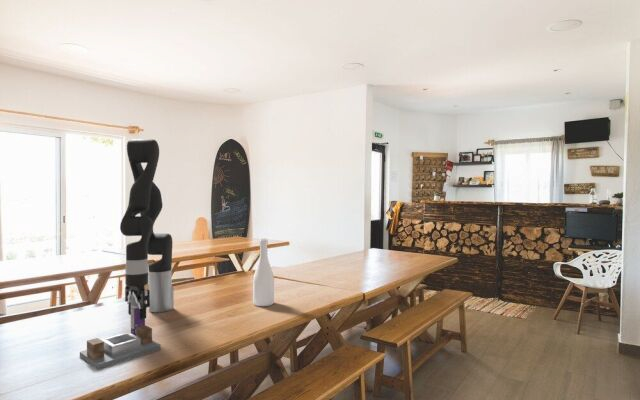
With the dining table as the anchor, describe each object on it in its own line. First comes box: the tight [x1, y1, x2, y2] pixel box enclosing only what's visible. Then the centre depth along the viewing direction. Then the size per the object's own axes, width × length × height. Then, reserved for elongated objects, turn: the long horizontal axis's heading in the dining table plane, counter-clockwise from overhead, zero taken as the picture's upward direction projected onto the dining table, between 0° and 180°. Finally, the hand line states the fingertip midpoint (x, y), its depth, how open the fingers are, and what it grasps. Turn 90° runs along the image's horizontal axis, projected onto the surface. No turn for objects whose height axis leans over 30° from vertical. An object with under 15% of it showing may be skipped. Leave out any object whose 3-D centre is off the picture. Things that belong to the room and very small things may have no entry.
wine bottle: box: [252, 238, 275, 307], centre depth 178 cm, size 10×10×30 cm
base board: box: [79, 340, 161, 371], centre depth 124 cm, size 19×14×2 cm
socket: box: [100, 331, 141, 356], centre depth 124 cm, size 9×9×3 cm
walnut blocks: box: [86, 324, 153, 360], centre depth 124 cm, size 18×5×4 cm, turn 140°
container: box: [130, 294, 146, 336], centre depth 140 cm, size 5×5×15 cm
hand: (137, 316), depth 140 cm, fingers open, 8 cm apart
